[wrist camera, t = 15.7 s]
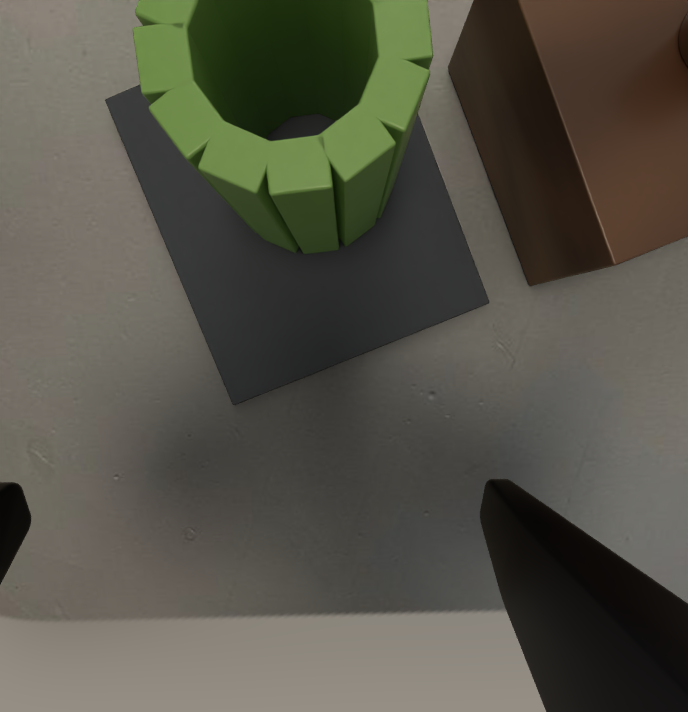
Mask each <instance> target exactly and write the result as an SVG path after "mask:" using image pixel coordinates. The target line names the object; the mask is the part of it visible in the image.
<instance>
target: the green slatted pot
mask: <svg viewBox="0 0 688 712" xmlns="http://www.w3.org/2000/svg"><path fill="white" fill-rule="evenodd" d="M135 13H136V16H137V17H138V19H139V20H140V22H141V23H142V25H143V26H140V27H134V28H133V36H134V43H135V50H136V57H137V64H138V71H139V78H140V85H141V92H142V94H143V96H144V97H145V98H146V99H147V100H148V101H149V103H150V104H151V105H150V106H149V110H150V112H151V114H152V115H153V116H154V118H155V119H156V120H157V122H158V123H159V124H160V126H161V127H162V128H163V130H164V131H165V132H166V134H167V135H168V136H169V138H170V139H171V140H172V142H173V143H174V144H175V146H176V147H177V148H178V150H179V151H180V152H181V154H182V155H183V156H184V158H185V159H186V160H187V161H188V162H189V163H190V164H191V165H192V166H193V167H194V168H195V169H196V171H197V172H198V173H199V174H200V175H201V176H202V177H203V178H204V179H205V180H206V181H207V182H208V183H209V184H210V185H211V186H212V187H213V189H214V190H215V191H216V192H217V193H218V194H219V195H220V196H221V197H222V198H223V199H224V200H225V201H226V202H227V203H228V204H229V205H230V207H231V208H232V209H233V210H234V211H235V212H236V213H237V214H238V215H239V216H240V217H241V218H242V219H243V220H244V221H245V222H246V224H247V225H248V226H249V227H250V228H251V229H252V230H253V231H254V232H255V233H258V234H259V235H260V236H261V237H262V238H263V239H264V240H266V241H268V242H271V243H273V244H275V245H278V246H280V247H282V248H284V249H287V250H289V251H291V252H294V253H296V252H297V250H298V247H300V249H301V250H302V252H303V254H310V253H318V252H326V251H334V250H338V249H339V242H338V237H339V239H340V240H341V241H342V243H343V244H344V245H345V246H348V245H350V244H351V243H352V242H353V241H355V240H356V239H357V238H359V237H360V236H361V235H363V234H364V233H365V232H367V231H368V230H369V229H371V228H372V227H373V226H374V225H375V222H376V218H380V217H381V215H382V213H383V211H384V208H385V206H386V203H387V201H388V199H389V196H390V194H391V192H392V189H393V187H394V184H395V181H396V178H397V175H398V172H399V169H400V166H401V163H402V159H403V156H404V153H405V150H406V147H407V144H408V141H409V138H410V135H411V132H412V129H413V125H414V122H415V119H416V116H417V113H418V110H419V107H420V104H421V101H422V98H423V95H424V92H425V88H426V85H427V82H428V79H429V76H430V71H429V67H430V64H431V61H432V58H433V49H432V39H431V30H430V20H429V10H428V1H427V0H139V2H138V5H137V8H136V11H135ZM318 113H319V114H321V115H323V116H326V117H328V118H330V119H332V120H335V121H336V122H335V123H333V124H332V125H331V126H330V127H328V128H327V129H326V130H324V131H323V132H322V133H321V134H319V135H316V136H308V137H300V138H292V139H284V140H276V141H269V140H267V139H266V138H267V135H268V134H269V133H271V132H272V131H273V130H275V129H276V128H277V127H278V126H280V125H281V124H282V123H284V122H285V121H286V120H287V119H289V118H290V117H295V116H302V115H310V114H318Z"/></svg>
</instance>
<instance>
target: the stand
mask: <svg viewBox="0 0 688 712" xmlns="http://www.w3.org/2000/svg"><path fill="white" fill-rule="evenodd" d="M448 69H449V72H450V75H451V77H452V80H453V83H454V85H455V88H456V91H457V93H458V96H459V99H460V101H461V104H462V107H463V109H464V112H465V115H466V117H467V120H468V123H469V125H470V128H471V131H472V133H473V136H474V139H475V141H476V144H477V147H478V149H479V152H480V155H481V157H482V160H483V163H484V165H485V168H486V171H487V173H488V176H489V179H490V182H491V184H492V187H493V190H494V192H495V195H496V198H497V200H498V203H499V206H500V208H501V211H502V214H503V216H504V219H505V222H506V224H507V227H508V230H509V232H510V235H511V238H512V240H513V243H514V246H515V248H516V251H517V254H518V256H519V259H520V262H521V264H522V267H523V270H524V272H525V275H526V278H527V280H528V283H529V285H530V286H532V285H536V284H540V283H545V282H549V281H553V280H557V279H561V278H565V277H569V276H574V275H578V274H582V273H586V272H590V271H594V270H598V269H602V268H607V267H611V266H615V265H617V264H620V263H622V262H625V261H628V260H630V259H633V258H635V257H638V256H640V255H643V254H645V253H648V252H650V251H653V250H655V249H658V248H660V247H663V246H665V245H668V244H670V243H673V242H675V241H678V240H680V239H683V238H685V237H688V0H474V1H473V3H472V6H471V9H470V11H469V14H468V16H467V19H466V22H465V24H464V27H463V29H462V32H461V35H460V37H459V40H458V43H457V45H456V48H455V50H454V53H453V56H452V58H451V61H450V63H449V66H448Z"/></svg>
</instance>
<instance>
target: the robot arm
mask: <svg viewBox="0 0 688 712" xmlns="http://www.w3.org/2000/svg"><path fill="white" fill-rule="evenodd" d="M480 520H481V525H482V529H483V532H484V536H485V540H486V543H487V547H488V550H489V554H490V558H491V561H492V565H493V568H494V572H495V576H496V579H497V583H498V586H499V590H500V593H501V596H502V599H503V602H504V605H505V608H506V610H507V613H508V615H509V618H510V621H511V623H512V626H513V628H514V631H515V633H516V636H517V638H518V641H519V643H520V646H521V649H522V651H523V654H524V656H525V659H526V661H527V664H528V666H529V669H530V671H531V674H532V677H533V679H534V682H535V684H536V687H537V689H538V692H539V694H540V697H541V699H542V702H543V705H544V707H545V709H546V712H688V603H686V602H685V601H683V600H682V599H680V598H679V597H677V596H676V595H675V594H673V593H672V592H670V591H669V590H667V589H666V588H665V587H663V586H662V585H660V584H659V583H657V582H656V581H654V580H653V579H652V578H650V577H649V576H647V575H646V574H644V573H643V572H641V571H640V570H639V569H637V568H636V567H634V566H633V565H631V564H630V563H629V562H627V561H626V560H624V559H623V558H621V557H620V556H618V555H617V554H616V553H614V552H613V551H611V550H610V549H608V548H607V547H605V546H604V545H603V544H601V543H600V542H598V541H597V540H595V539H594V538H593V537H591V536H590V535H588V534H587V533H585V532H584V531H582V530H581V529H580V528H578V527H577V526H575V525H574V524H572V523H571V522H569V521H568V520H567V519H565V518H564V517H562V516H561V515H559V514H558V513H557V512H555V511H554V510H552V509H551V508H549V507H548V506H546V505H545V504H544V503H542V502H541V501H539V500H538V499H536V498H535V497H533V496H532V495H531V494H529V493H528V492H526V491H525V490H523V489H522V488H521V487H519V486H518V485H516V484H515V483H513V482H512V481H510V480H508V479H490V480H488V481H487V482H486V485H485V489H484V494H483V499H482V504H481V509H480ZM30 525H31V514H30V511H29V508H28V505H27V502H26V499H25V496H24V493H23V490H22V487H21V486H20V485H19V484H18V483H14V482H0V584H1V582H2V580H3V578H4V577H5V575H6V573H7V571H8V569H9V567H10V565H11V563H12V561H13V559H14V557H15V555H16V553H17V552H18V550H19V548H20V546H21V544H22V542H23V540H24V538H25V536H26V534H27V532H28V530H29V528H30Z"/></svg>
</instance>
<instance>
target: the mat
mask: <svg viewBox="0 0 688 712" xmlns="http://www.w3.org/2000/svg"><path fill="white" fill-rule="evenodd" d="M105 101H106V104H107V106H108V108H109V111H110V113H111V116H112V118H113V120H114V123H115V125H116V127H117V130H118V132H119V135H120V137H121V139H122V142H123V144H124V147H125V149H126V151H127V154H128V156H129V158H130V161H131V163H132V166H133V168H134V170H135V173H136V175H137V177H138V180H139V182H140V185H141V187H142V189H143V192H144V194H145V196H146V199H147V201H148V204H149V206H150V208H151V211H152V213H153V216H154V218H155V220H156V223H157V225H158V227H159V230H160V232H161V235H162V237H163V239H164V242H165V244H166V246H167V249H168V251H169V254H170V256H171V258H172V261H173V263H174V266H175V268H176V270H177V273H178V275H179V277H180V280H181V282H182V285H183V287H184V289H185V292H186V294H187V296H188V299H189V301H190V304H191V306H192V308H193V311H194V313H195V315H196V318H197V320H198V323H199V325H200V327H201V330H202V332H203V335H204V337H205V339H206V342H207V344H208V346H209V349H210V351H211V354H212V356H213V358H214V361H215V363H216V365H217V368H218V370H219V373H220V375H221V377H222V380H223V382H224V385H225V387H226V389H227V392H228V394H229V396H230V399H231V401H232V404H233V405H236V404H238V403H241V402H243V401H246V400H248V399H251V398H253V397H256V396H258V395H261V394H263V393H266V392H268V391H271V390H273V389H276V388H278V387H281V386H283V385H286V384H288V383H291V382H293V381H296V380H298V379H301V378H303V377H306V376H308V375H311V374H313V373H316V372H318V371H321V370H323V369H326V368H328V367H331V366H333V365H336V364H338V363H341V362H343V361H346V360H348V359H351V358H353V357H356V356H358V355H361V354H363V353H366V352H368V351H371V350H373V349H376V348H378V347H381V346H383V345H386V344H388V343H391V342H393V341H396V340H398V339H401V338H403V337H406V336H408V335H411V334H413V333H416V332H418V331H421V330H423V329H426V328H428V327H431V326H433V325H436V324H438V323H441V322H443V321H446V320H448V319H451V318H453V317H456V316H458V315H461V314H463V313H466V312H468V311H471V310H473V309H476V308H478V307H481V306H483V305H486V304H488V303H489V300H488V297H487V295H486V292H485V289H484V287H483V284H482V281H481V279H480V276H479V274H478V271H477V268H476V266H475V263H474V260H473V258H472V255H471V252H470V250H469V247H468V245H467V242H466V239H465V237H464V234H463V231H462V229H461V226H460V224H459V221H458V218H457V216H456V213H455V210H454V208H453V205H452V203H451V200H450V197H449V195H448V192H447V189H446V187H445V184H444V181H443V179H442V176H441V174H440V171H439V168H438V166H437V163H436V160H435V158H434V155H433V153H432V150H431V147H430V145H429V142H428V139H427V137H426V134H425V131H424V129H423V126H422V124H421V121H420V118H419V116H418V113H417V116H416V119H415V122H414V125H413V129H412V132H411V135H410V138H409V141H408V144H407V147H406V150H405V153H404V156H403V159H402V163H401V166H400V169H399V172H398V175H397V178H396V181H395V184H394V187H393V189H392V192H391V194H390V196H389V199H388V201H387V203H386V206H385V208H384V211H383V213H382V215H381V217H380V218H376V222H375V225H374V226H373V227H372V228H371V229H369V230H368V231H367V232H365V233H364V234H363V235H361V236H360V237H359V238H357V239H356V240H355V241H353V242H352V243H351V244H350V245H348V246H345V245H344V244H343V243H342V241H341V240H340V239H339V237H338V242H339V249H338V250H334V251H326V252H318V253H310V254H303V252H302V250H301V249H300V247H298V250H297V252H296V253H294V252H291V251H289V250H287V249H284V248H282V247H280V246H278V245H275V244H273V243H271V242H268V241H266V240H264V239H263V238H262V237H261V236H260V235H259V234H258V233H255V232H254V231H253V230H252V229H251V228H250V227H249V226H248V225H247V224H246V222H245V221H244V220H243V219H242V218H241V217H240V216H239V215H238V214H237V213H236V212H235V211H234V210H233V209H232V208H231V207H230V205H229V204H228V203H227V202H226V201H225V200H224V199H223V198H222V197H221V196H220V195H219V194H218V193H217V192H216V191H215V190H214V189H213V187H212V186H211V185H210V184H209V183H208V182H207V181H206V180H205V179H204V178H203V177H202V176H201V175H200V174H199V173H198V172H197V171H196V169H195V168H194V167H193V166H192V165H191V164H190V163H189V162H188V161H187V160H186V159H185V158H184V156H183V155H182V154H181V152H180V151H179V150H178V148H177V147H176V146H175V144H174V143H173V142H172V140H171V139H170V138H169V136H168V135H167V134H166V132H165V131H164V130H163V128H162V127H161V126H160V124H159V123H158V122H157V120H156V119H155V118H154V116H153V115H152V114H151V112H150V110H149V106H150V105H151V104H150V103H149V101H148V100H147V99H146V98H145V97H144V96H143V94H142V92H141V85H138V86H136V87H133V88H131V89H129V90H126V91H124V92H122V93H119V94H117V95H115V96H112V97H110V98H108V99H106V100H105ZM335 122H336V121H335V120H332V119H330V118H328V117H326V116H323V115H321V114H319V113H318V114H310V115H302V116H295V117H290V118H289V119H287V120H286V121H285V122H284V123H282V124H281V125H280V126H278V127H277V128H276V129H275V130H273V131H272V132H271V133H269V134H268V135H267V138H266V139H267V140H269V141H276V140H284V139H292V138H300V137H308V136H316V135H319V134H321V133H322V132H323V131H324V130H326V129H327V128H328V127H330V126H331V125H332V124H333V123H335Z"/></svg>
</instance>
